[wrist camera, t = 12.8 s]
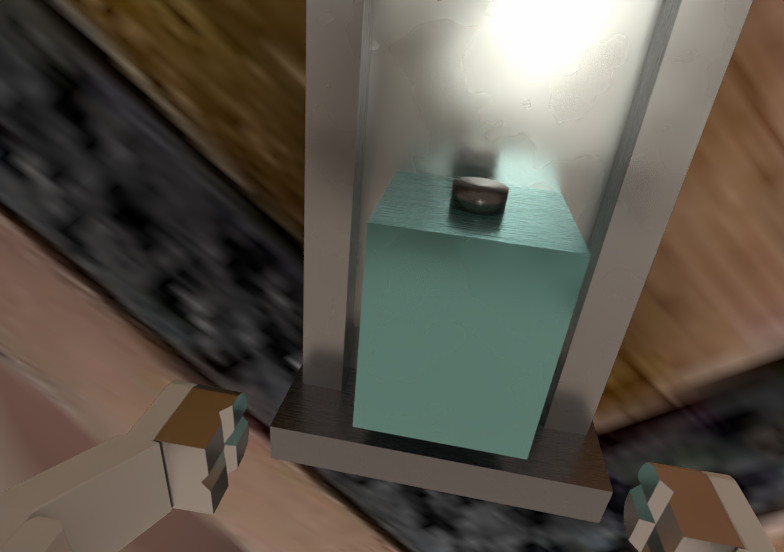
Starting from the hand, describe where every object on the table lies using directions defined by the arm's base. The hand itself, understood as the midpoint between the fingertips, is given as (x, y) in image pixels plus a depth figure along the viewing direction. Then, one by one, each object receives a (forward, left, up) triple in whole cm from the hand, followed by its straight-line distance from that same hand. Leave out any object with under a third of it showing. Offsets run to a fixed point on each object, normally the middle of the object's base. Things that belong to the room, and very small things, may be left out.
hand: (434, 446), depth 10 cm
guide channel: (0, +3, -11) cm, 11 cm away
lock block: (0, 0, -9) cm, 9 cm away
